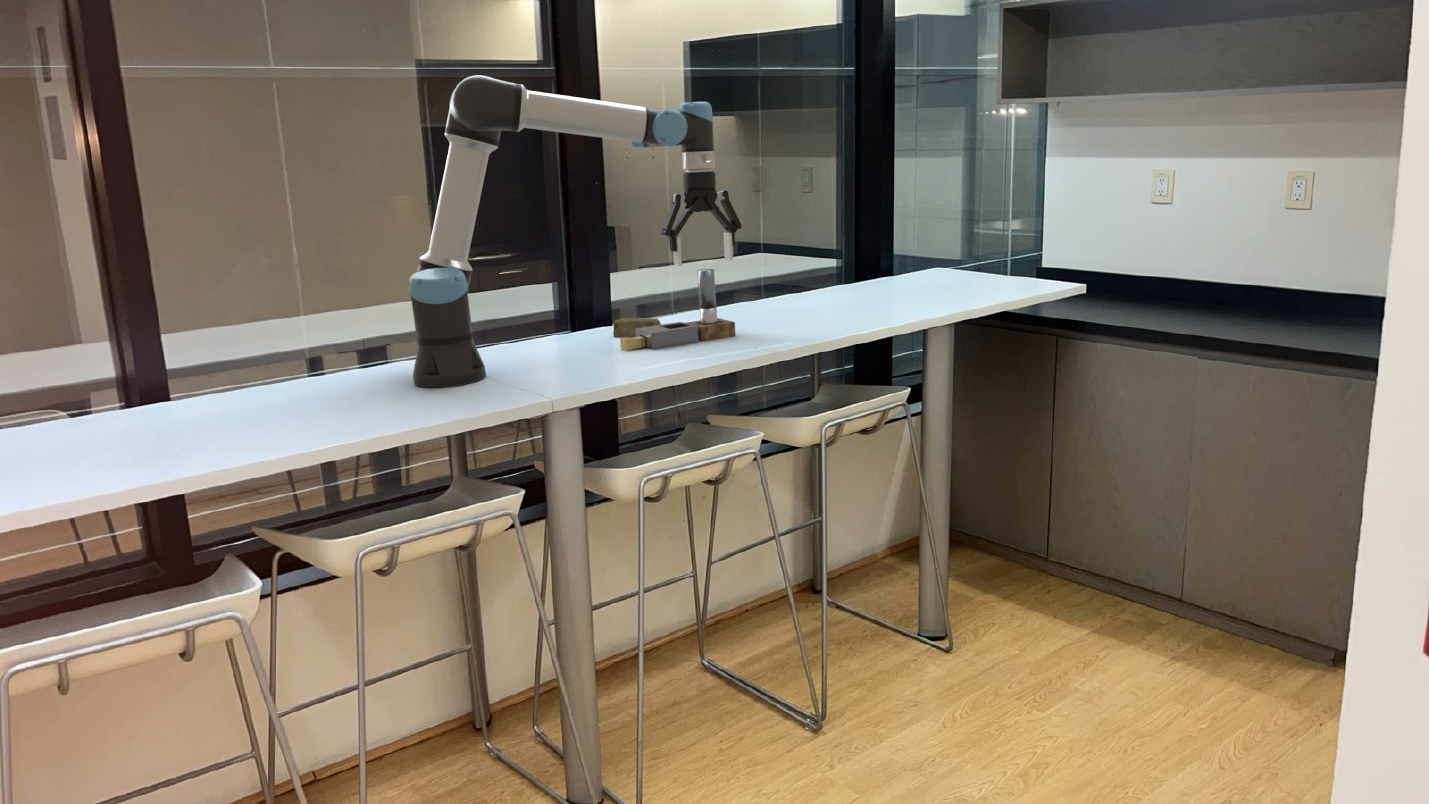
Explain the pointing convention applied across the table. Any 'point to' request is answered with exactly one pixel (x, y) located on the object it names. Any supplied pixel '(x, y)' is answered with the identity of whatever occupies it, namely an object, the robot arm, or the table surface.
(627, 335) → the stone block
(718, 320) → the brown wooden open box
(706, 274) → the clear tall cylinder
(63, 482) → the table surface
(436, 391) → the table surface
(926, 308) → the table surface
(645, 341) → the tan wooden bar
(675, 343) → the socket
